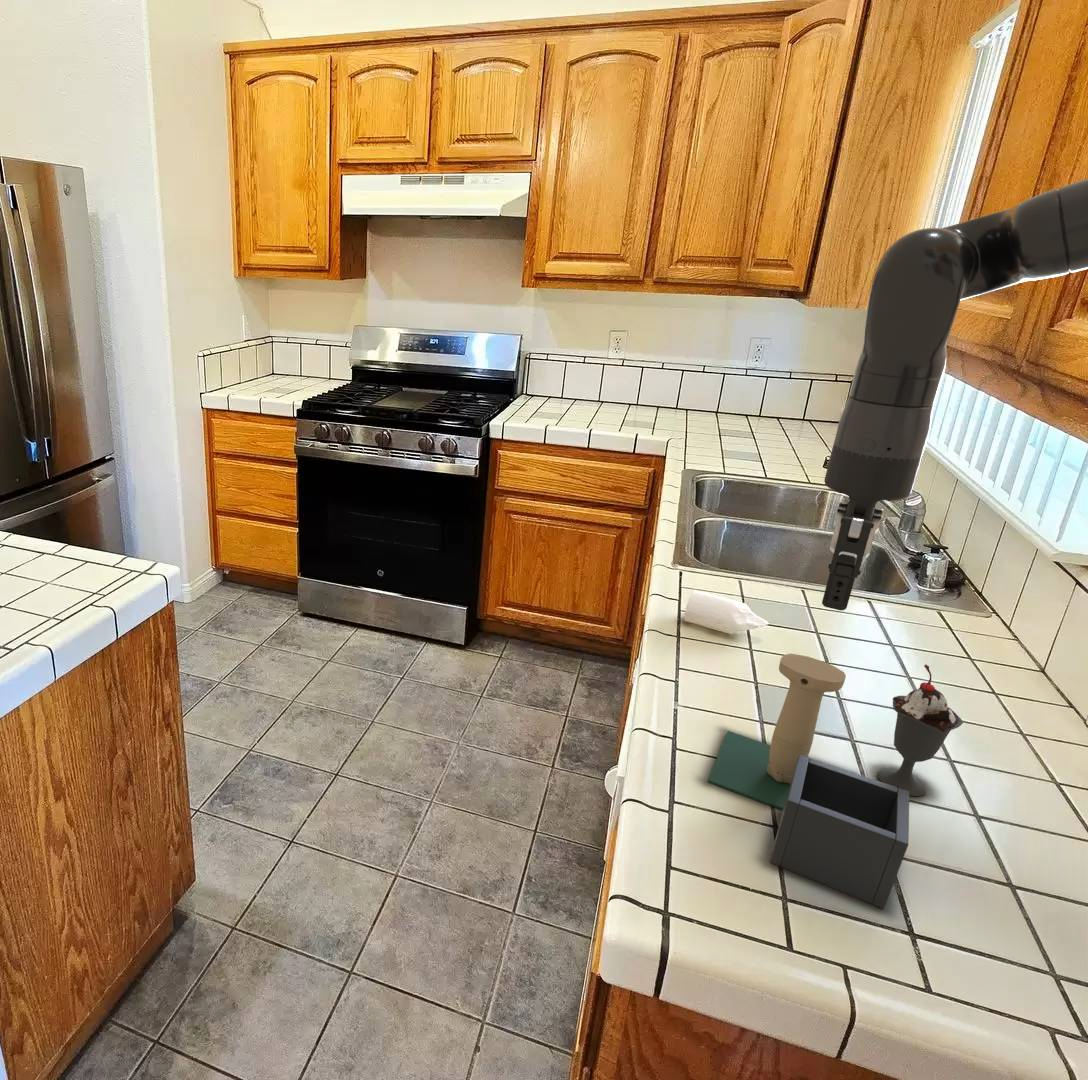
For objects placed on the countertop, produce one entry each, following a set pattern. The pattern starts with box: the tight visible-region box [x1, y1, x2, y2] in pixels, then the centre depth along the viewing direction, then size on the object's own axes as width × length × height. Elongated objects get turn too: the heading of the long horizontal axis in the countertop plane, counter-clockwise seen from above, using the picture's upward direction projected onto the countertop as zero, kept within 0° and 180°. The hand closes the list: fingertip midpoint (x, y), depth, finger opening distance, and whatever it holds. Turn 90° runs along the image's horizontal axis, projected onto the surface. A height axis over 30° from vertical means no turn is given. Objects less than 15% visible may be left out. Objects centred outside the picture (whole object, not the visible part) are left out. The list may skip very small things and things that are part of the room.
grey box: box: [769, 754, 910, 910], centre depth 77 cm, size 10×9×8 cm
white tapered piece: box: [683, 590, 769, 635], centre depth 123 cm, size 6×12×6 cm, turn 51°
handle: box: [767, 653, 847, 784], centre depth 87 cm, size 5×6×15 cm
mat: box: [707, 730, 790, 811], centre depth 90 cm, size 14×12×1 cm
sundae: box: [877, 663, 964, 797], centre depth 87 cm, size 7×7×15 cm
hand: (836, 593), depth 81 cm, fingers open, 8 cm apart
